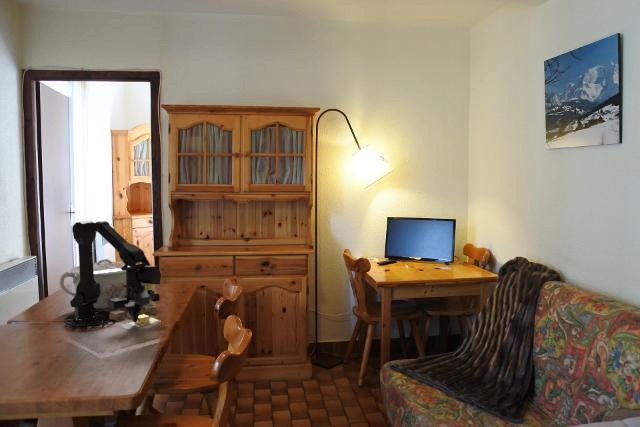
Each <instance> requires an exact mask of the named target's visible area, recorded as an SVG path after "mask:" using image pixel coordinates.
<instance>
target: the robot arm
mask: <svg viewBox="0 0 640 427" xmlns="http://www.w3.org/2000/svg"><path fill="white" fill-rule="evenodd" d="M71 230H72V235H73V239H74V241H75V242H76V243H77V246H78V261H79V262H78V264H79V265H78V266H79V268H80V282H79V284H78V286H77V288H76V292H75V293H76V296H75V297H73V298H72V299H71V300H70V302H69V304H70V307H71V308H74V319H75V318H77V319H85V318H90V317H93V316H95V317H96V309H95V307H94V303H97V299H98V297H99V295H100V293H101V292H100V283H96V281H95V280H94V271H93V263H94V252H93V243H94V241H95V239H96V237H97V233H98V234H99V235H100V236H101V237H102V238H103V239H104V240H106V241H107V243H109V245H110V246H112V247H113V248H114V249H115V250H116V251H117V252H118V256H119V259H121V262H124V263H125V265H124V266H123V267H122V268H121V270H126V284H124V285H125V287H126V295H125V298H126V299H124V300H122V299H120V298H115V299H109V301H108V302H107V307H109V308H108V309H112V310H120V309H123V308H125V309H126V310H127V313H128V312H129V314H130V316H131V318H130V319H131V320H132V322H134V323H135V322H137V319H138V316H139V315H140V314H139V313H140V311H141V309H142V310H143V309H144V306H145V305H146V304H149V303H150V299H151V300H152V301H153V302H154V303H155V302H159V301H161V295H160V293H159V292H155V290H154V288H153V289H151V290H146V291H145V289H144V285H143V284H142V283H147V284H153V285H158V284H159V283H160V282H161V279H162V273H161V271H160V269H158V266H157V265H151V263H150V262H149V260H148V258H147V256H146V255H145V252H144V250H143V249H141V248H140V247H138V246H137V245H136V244H133V243H130V242H129V241H127V240H126V238H124V237H123V236H122V235H121V234H120V233H119V232H117V230H116V229H114V228H113V227H112V226H111V225H110V223H109V222H108V221H107V220H101V221H96V222H94V221H92V220H84V221H77V222H75V223H73V225H72V228H71ZM90 319H91V318H90Z"/></svg>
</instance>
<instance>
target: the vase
mask: <svg viewBox="0 0 640 427" xmlns="http://www.w3.org/2000/svg"><path fill="white" fill-rule="evenodd" d="M142 284H143V285H144V289H145V291H146V290H151V289H153V290H154V287H153V285H154V284H147V283H142ZM147 305H154V306H155V302H153V301H152V300H151V299H150V303H149V304H146V305H145V306H147Z"/></svg>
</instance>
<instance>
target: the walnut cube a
mask: <svg viewBox="0 0 640 427" xmlns="http://www.w3.org/2000/svg"><path fill="white" fill-rule="evenodd" d="M124 319H126V312H125V311H124V310H120V309H115V310H113V311H109V320H111V321H116V322H118V321H121V320H124Z"/></svg>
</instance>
